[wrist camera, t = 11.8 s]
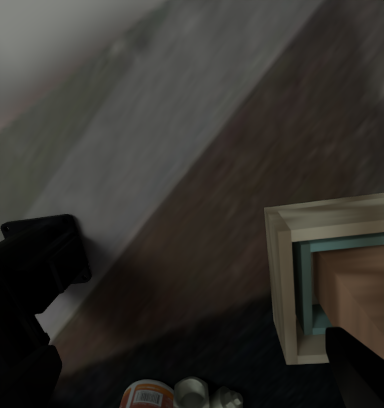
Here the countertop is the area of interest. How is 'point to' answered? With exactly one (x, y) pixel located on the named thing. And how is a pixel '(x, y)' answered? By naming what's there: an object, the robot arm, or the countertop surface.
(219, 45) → the countertop surface
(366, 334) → the peg
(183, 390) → the pipe fitting
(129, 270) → the countertop surface
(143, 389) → the pill bottle
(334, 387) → the countertop surface
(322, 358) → the socket box
